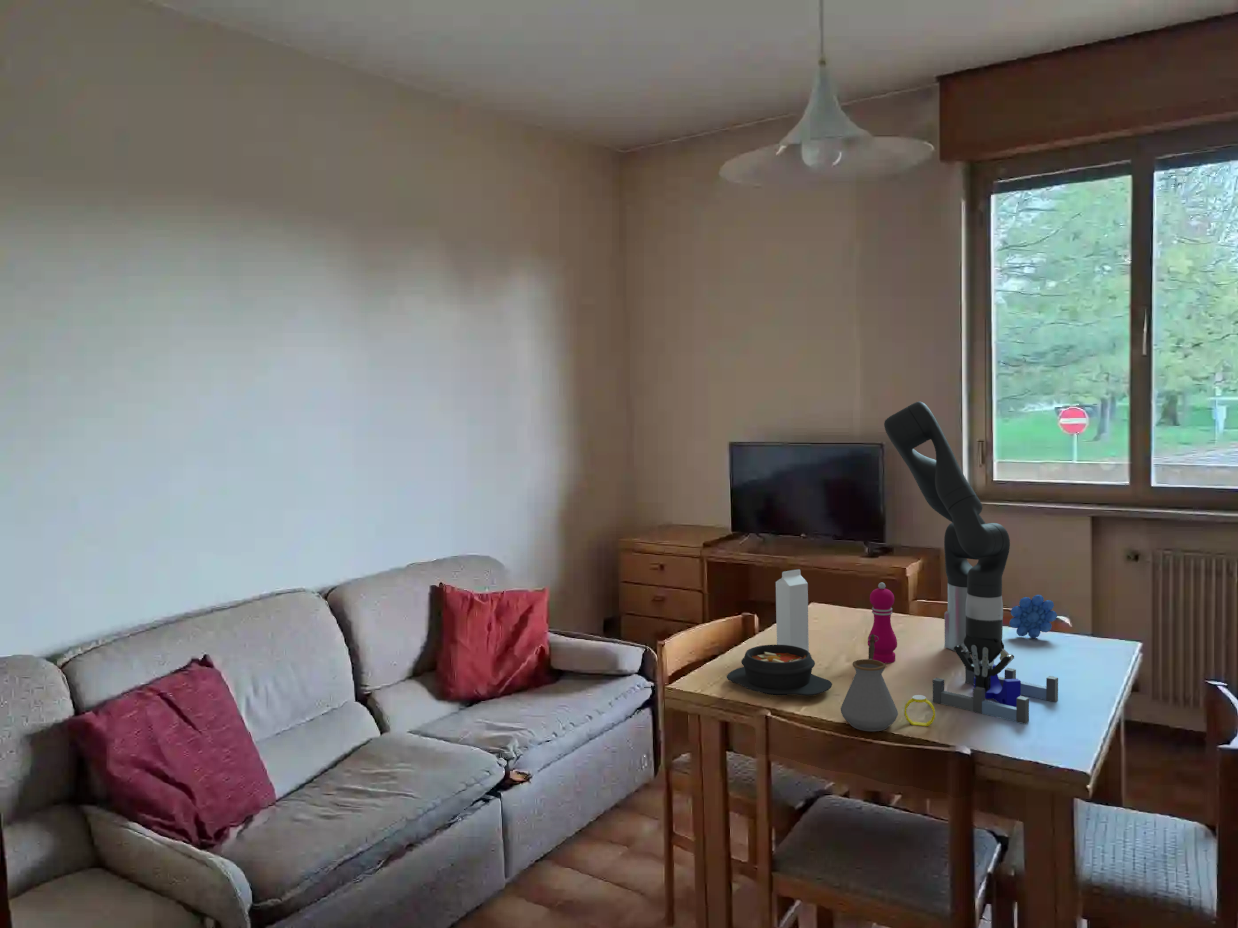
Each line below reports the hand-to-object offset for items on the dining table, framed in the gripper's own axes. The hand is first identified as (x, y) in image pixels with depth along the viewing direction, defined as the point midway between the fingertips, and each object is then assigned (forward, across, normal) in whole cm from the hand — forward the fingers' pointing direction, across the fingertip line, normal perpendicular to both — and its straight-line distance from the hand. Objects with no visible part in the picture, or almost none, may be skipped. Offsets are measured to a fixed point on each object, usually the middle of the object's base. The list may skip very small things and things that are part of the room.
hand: (982, 691), depth 194 cm
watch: (+2, -3, -22) cm, 23 cm away
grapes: (+2, -10, +54) cm, 55 cm away
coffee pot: (+2, -13, -25) cm, 28 cm away
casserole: (+3, -38, -23) cm, 45 cm away
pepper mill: (+2, -31, +11) cm, 33 cm away
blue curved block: (+2, +2, +2) cm, 4 cm away
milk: (+2, -52, +2) cm, 52 cm away
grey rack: (+2, +2, +1) cm, 3 cm away
